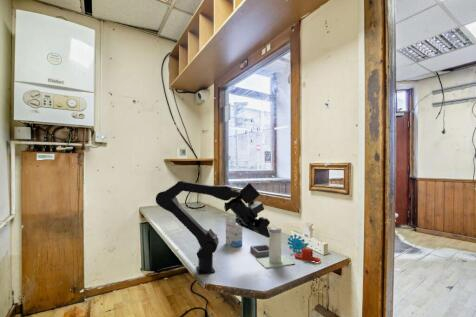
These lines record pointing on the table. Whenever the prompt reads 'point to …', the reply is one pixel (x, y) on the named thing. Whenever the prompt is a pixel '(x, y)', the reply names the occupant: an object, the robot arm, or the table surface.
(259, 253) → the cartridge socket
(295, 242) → the gear
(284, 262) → the pad
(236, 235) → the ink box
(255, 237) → the table surface
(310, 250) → the bracket
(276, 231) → the cylinder
